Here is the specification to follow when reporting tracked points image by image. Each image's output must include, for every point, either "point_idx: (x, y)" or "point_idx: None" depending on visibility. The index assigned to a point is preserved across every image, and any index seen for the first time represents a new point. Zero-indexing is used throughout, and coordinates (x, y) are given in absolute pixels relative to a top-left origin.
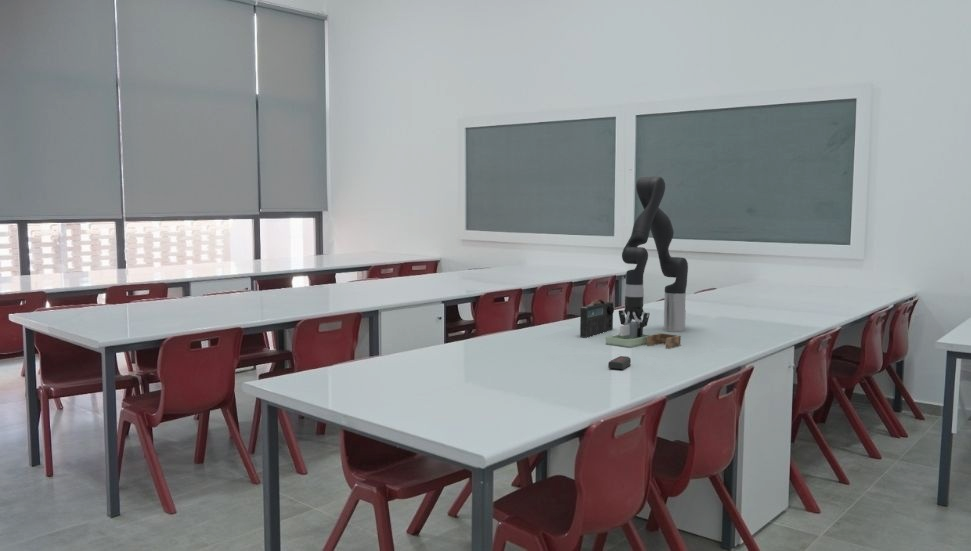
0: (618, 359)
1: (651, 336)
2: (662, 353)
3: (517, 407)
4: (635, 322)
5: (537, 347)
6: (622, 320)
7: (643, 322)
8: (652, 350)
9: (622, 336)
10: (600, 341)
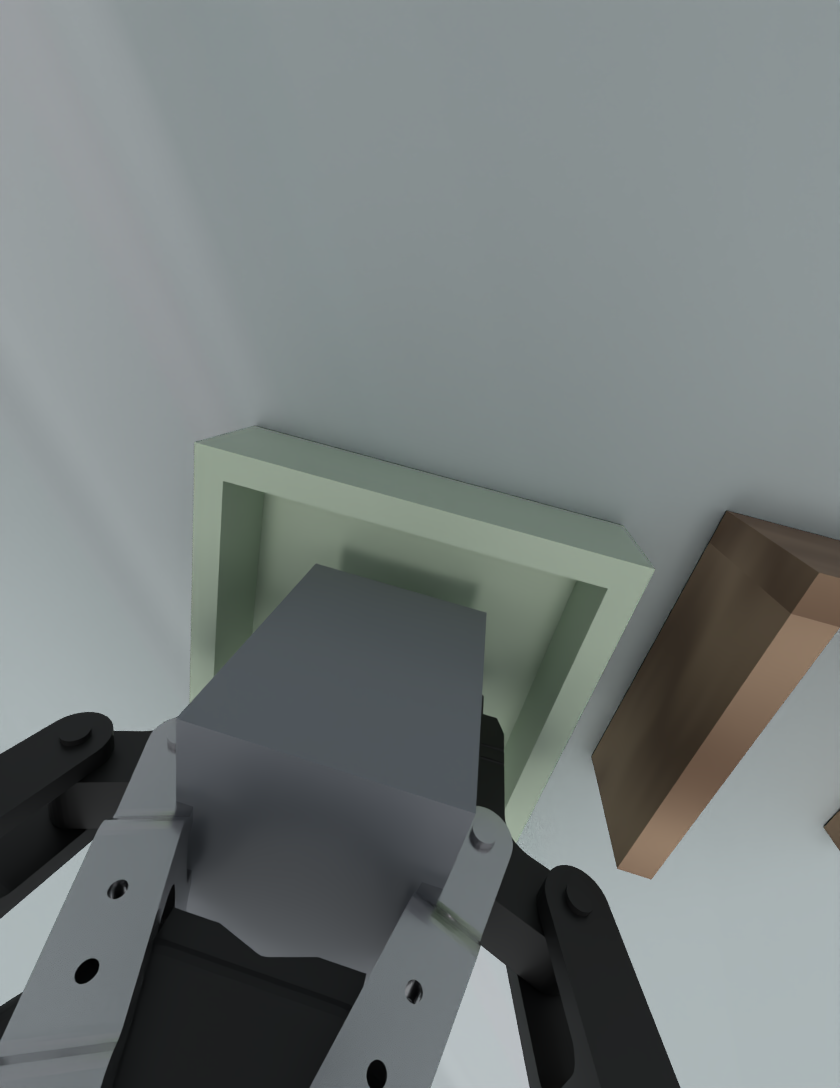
0: None
1: (673, 837)
2: (790, 1010)
3: None
4: (316, 854)
5: (11, 960)
6: (50, 875)
7: (561, 1065)
8: (685, 929)
9: (231, 638)
10: (110, 686)
